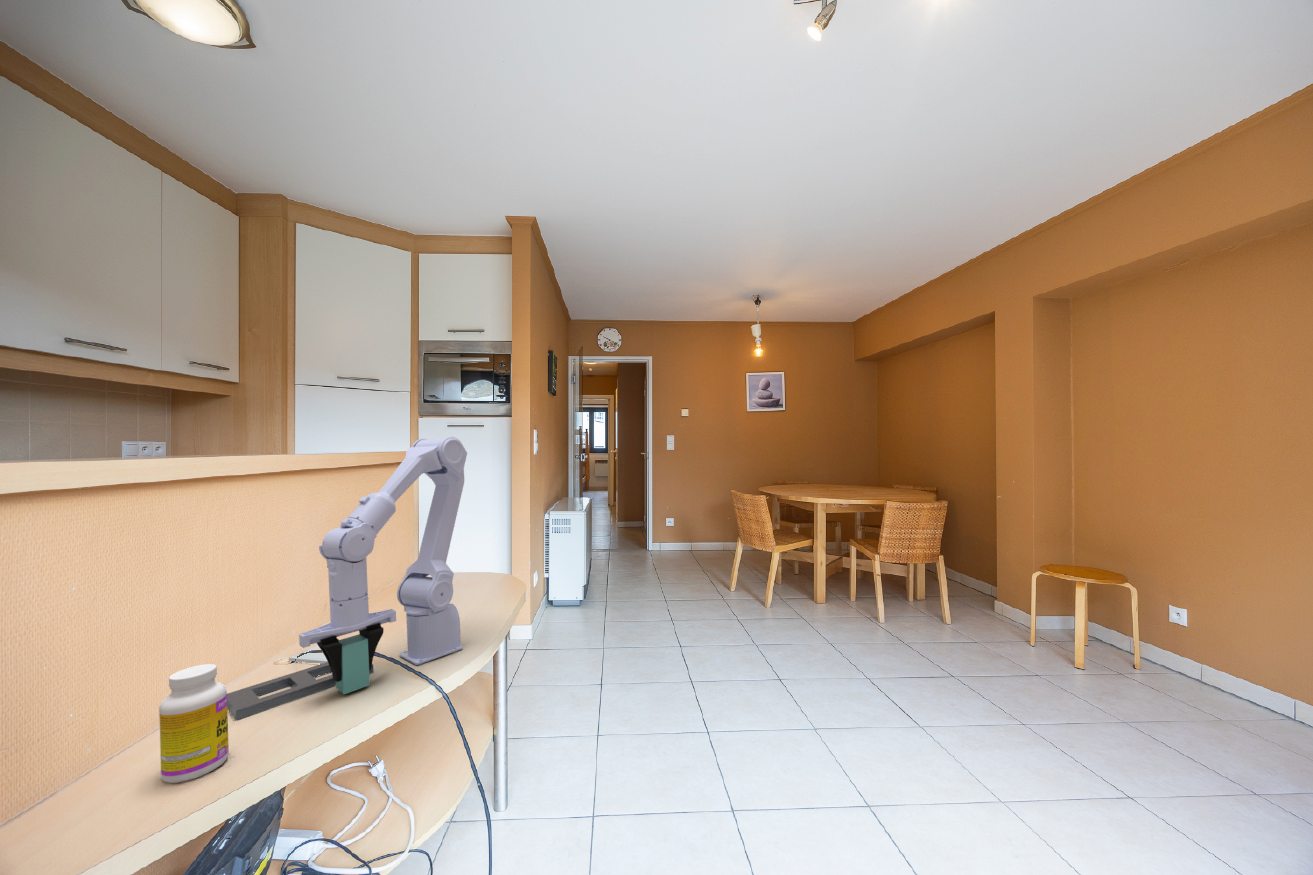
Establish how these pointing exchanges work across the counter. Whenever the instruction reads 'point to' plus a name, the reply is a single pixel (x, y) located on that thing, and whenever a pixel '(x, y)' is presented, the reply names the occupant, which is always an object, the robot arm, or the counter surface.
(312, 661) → the hard drive
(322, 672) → the steel rail
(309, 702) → the counter surface
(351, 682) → the teal peg
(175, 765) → the supplement bottle
